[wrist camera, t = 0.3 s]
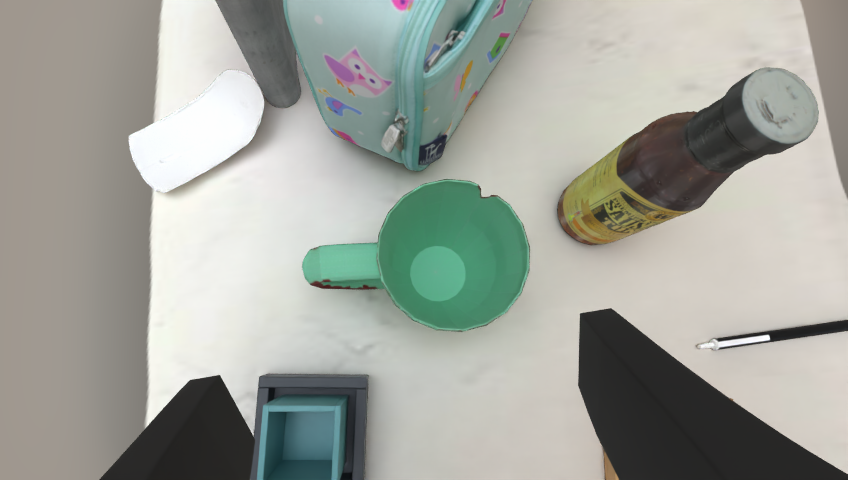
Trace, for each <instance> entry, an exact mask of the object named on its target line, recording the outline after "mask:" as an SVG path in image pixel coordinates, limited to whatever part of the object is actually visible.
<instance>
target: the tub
mask: <svg viewBox="0 0 848 480" xmlns="http://www.w3.org/2000/svg"><path fill="white" fill-rule="evenodd" d="M348 400H349V395H338V394H283V395H281V396H279V397H278V398H276V399H274V400H272V401H270V402H268V403H267V404H265V405H263V413H262V424H261V436H260V448H259V460H258V472H257V480H340V478H341V475H342V472H343V469H344V466H345V462H346V441H347V420H348Z"/></svg>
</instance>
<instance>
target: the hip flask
mask: <svg viewBox="0 0 848 480" xmlns="http://www.w3.org/2000/svg"><path fill="white" fill-rule="evenodd" d="M216 2H217V4H218V6H219V8H220V10H221V12H222V14H223V16H224V18H225V20H226V22H227V24H228V26H229V28H230V30H231V32H232V34H233V35H234V37H235V39H236V41H237V43H238V45H239V47H240V49H241V51H242V53H243V55H244V57H245V59H246V61H247V63H248V65H249V67H250V69H251V71H252V73H253V74H254V76H255V78H256V80H257V82H258V84H259V86H260V88H261V90H262V92H263V94H264V96H265V98H266V100H267V101H268V102H269V103H270V104H271V105H273V106H275V107H279V108H285V107H289V106H291V105H293V104H294V103H295V102H296V101H297V100H298V99H299V97H300V92H301V90H300V84H299V79H298V73H297V64H296V50H295V46H294V43H293V40H292V37H291V34H290V31H289V28H288V25H287V22H286V18H285V13H284V7H283V0H216Z"/></svg>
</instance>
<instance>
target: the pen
mask: <svg viewBox="0 0 848 480" xmlns="http://www.w3.org/2000/svg"><path fill="white" fill-rule="evenodd" d="M842 331H848V320H844V321H837V322H830V323H823V324H816V325H809V326H802V327H795V328H788V329H781V330H774V331H767V332H760V333H753V334H746V335H739V336H732V337H725V338H718V339H712V340H710V342H709V343H705V344H699V345H698V348H699V349H704V348H712V349H713V350H719V349H726V348H732V347H739V346H746V345H753V344H760V343H767V342H774V341H780V340H787V339H794V338H801V337H808V336H815V335H822V334H828V333H835V332H842Z"/></svg>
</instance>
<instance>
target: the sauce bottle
mask: <svg viewBox="0 0 848 480" xmlns="http://www.w3.org/2000/svg"><path fill="white" fill-rule="evenodd" d="M818 114H819V110H818V104H817V101H816V99H815V96H814V95H813V93H812V91H811V89H810V88H809V87H808V86H807V85H806V84H805V82H804V81H803V80H802V79H800V78H799V77H798V76H797V75H795V74H793V73H791V72H789V71H787V70H785V69H780V68H769V67H768V68H762V69H759V70H756V71H754V72H753V73H751V74H750V75H748V76H746V77H744V78H743V79H741V80H740V81H739V82H737V83H736V84H735V85H733V86H732V87H731V88H730V89H729V90H728V92H727V93H726V95H725V96H724V97H723V98H721V99H720V100H718V101H716V102H715V103H713V104H712V105H710V106H709V107H707V108H704V109H702V110H700V111H699V112H694V111H693V112H683V113H675V114H670V115H668V116H665V117H662V118H660V119H657V120H656V121H654V122H652V123H651V124H649V125H648V126H647V127H645V128H644V129H643V130H642V131H640V132H638V133H636V134H634V135H633V136H631V137H630V138H628V139H627V140H626V141H624V142H623V143H622V144H620V145H619V146H618V147H617V148H615V149H614V150H613V151H611V152H610V153H609V154H608V155H606V156H605V157H604V158H602V159H601V160H600V161H598V162H597V163H596V164H594V165H593V166H592V167H590V168H589V169H588V170H586V171H585V172H584V173H582V174H581V175H580V176H578V177H577V178H576V179H574V180H573V182H572V183H571V184H570V185H569V186H568V187H567V188H566V189H565V190H564V191H563V194H562V195H561V197H560V200H559V203H558V217H559V220H560V223H561V225H562V227H563V228H564V230H565V231H566V232H567V233H568V234H569V235H570V236H572V237H573V238H575V239H576V240H578V241H580V242H582V243H587V244H589V245H593V244H595V245H596V244H606V243H611V242H614V241H616V240H619V239H622V238H624V237H627V236H629V235H632V234H634V233H637V232H639V231H642V230H644V229H647V228H649V227H652V226H655V225H657V224H660V223H663V222H665V221H667V220H670V219H672V218H675V217H677V216H680V215H683V214H686V213H688V212H690V211H693V210H695V209H697V208H699V207H701V206H702V205H703V204H704V203H705V202H706V200H707V199H708V198H709V197H710V196H711V195H712V193H713V192H714V191H715V190H716V189H717V188H718V187H719V186H720V185H721V184H722V183H723V182H724V181H725V180H726V179H727V178H728V177H729V176H730V175H731V174H732V173H733V172H734V171H736V170H738V169H740V168H742V167H743V166H744V165H746V164H747V163H749V162H751V161H753V160H756V159H758V158H760V157H762V156H764V155H767V154H776V153H780V152H783V151H784V150H786V149H788V148H791V147H793V146H794V145H796V144H798V143H800V142H802V141H804V140H806V139H807V138H808V137H809V136H810V135H811V133H812V132H813V130H814V129H815V127H816V124H817V122H818Z"/></svg>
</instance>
